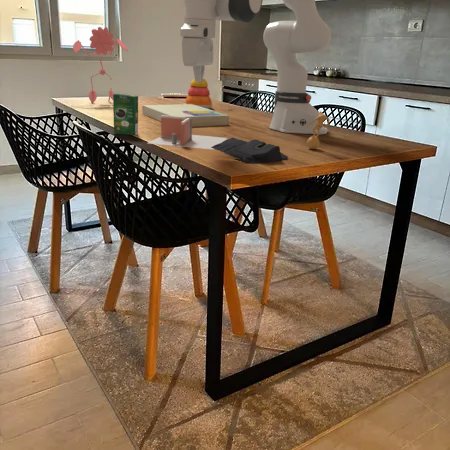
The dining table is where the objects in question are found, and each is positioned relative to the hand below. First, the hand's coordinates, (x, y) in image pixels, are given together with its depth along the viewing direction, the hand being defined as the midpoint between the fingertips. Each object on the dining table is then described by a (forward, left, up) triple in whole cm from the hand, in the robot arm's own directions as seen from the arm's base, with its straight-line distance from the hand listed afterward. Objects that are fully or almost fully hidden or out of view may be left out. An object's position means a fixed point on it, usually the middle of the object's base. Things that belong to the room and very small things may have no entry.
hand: (198, 81), depth 135 cm
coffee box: (+26, -7, -19) cm, 33 cm away
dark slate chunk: (-17, +5, -20) cm, 26 cm away
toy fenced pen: (+4, -5, -19) cm, 20 cm away
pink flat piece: (+9, -6, -19) cm, 21 cm away
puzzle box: (+20, -50, -20) cm, 57 cm away
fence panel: (+4, 0, -18) cm, 19 cm away
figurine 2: (-36, -11, -19) cm, 42 cm away
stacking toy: (+25, -88, -19) cm, 93 cm away
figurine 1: (+69, -78, -19) cm, 106 cm away
